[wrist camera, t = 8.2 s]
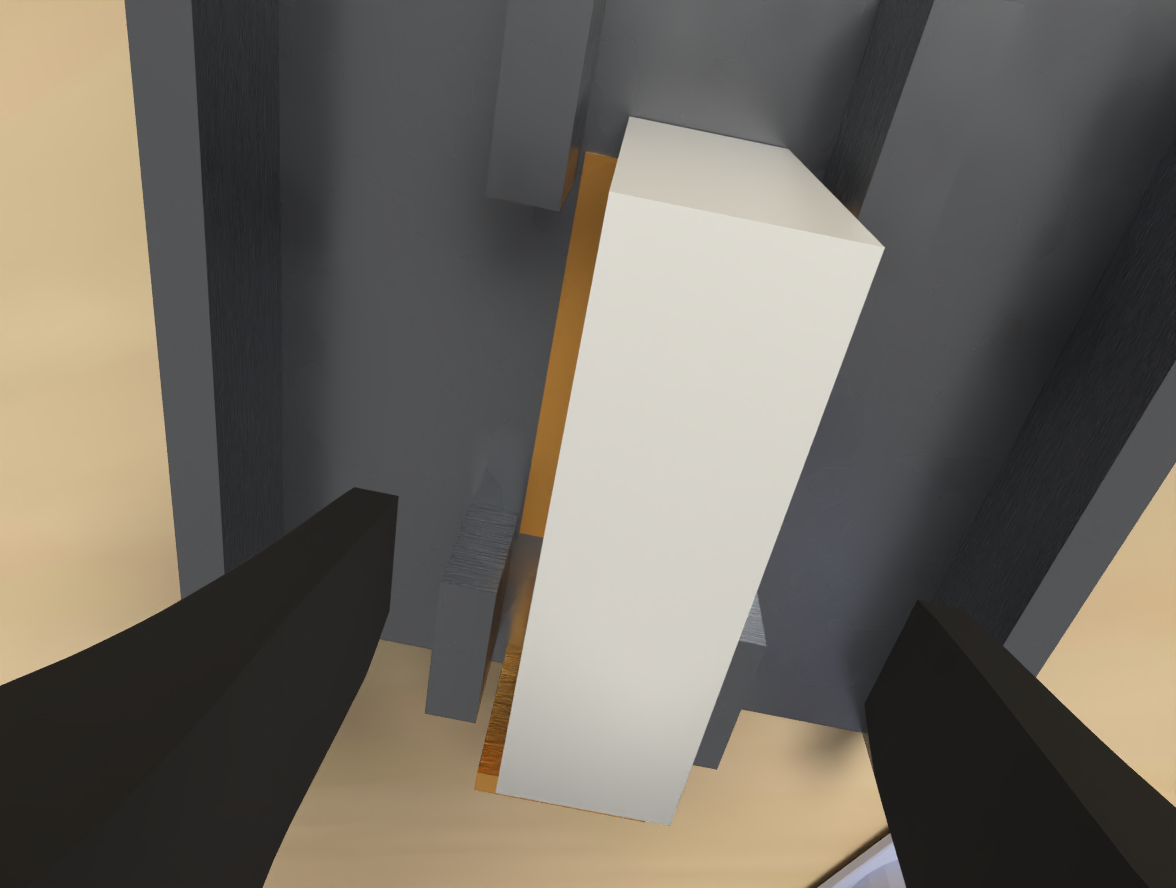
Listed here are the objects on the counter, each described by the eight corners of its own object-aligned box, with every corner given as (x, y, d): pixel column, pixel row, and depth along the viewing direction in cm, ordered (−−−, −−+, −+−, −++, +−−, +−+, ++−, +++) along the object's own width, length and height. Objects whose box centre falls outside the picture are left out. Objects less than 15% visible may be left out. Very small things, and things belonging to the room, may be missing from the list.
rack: (888, 711, 22) (943, 878, 18) (264, 589, 22) (167, 731, 18) (1264, 9, 14) (1547, 6, 9) (243, -212, 13) (42, -323, 9)
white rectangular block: (665, 568, 19) (669, 826, 13) (547, 545, 19) (495, 792, 13) (788, 149, 14) (885, 248, 8) (629, 116, 14) (608, 191, 8)
